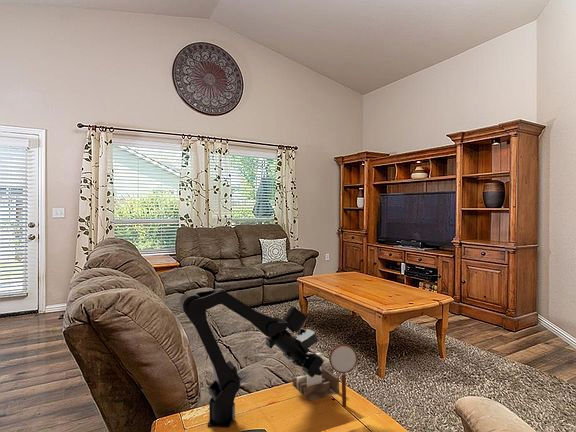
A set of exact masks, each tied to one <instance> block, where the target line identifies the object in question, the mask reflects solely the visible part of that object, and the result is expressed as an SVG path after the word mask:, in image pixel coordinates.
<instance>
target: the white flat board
mask: <svg viewBox="0 0 576 432" xmlns="http://www.w3.org/2000/svg"><path fill="white" fill-rule="evenodd" d="M315 354H317V355H318V356H320V357H321V358H322V353H321V352H316V353H315ZM306 358H307V357H306ZM320 370H321V367H320ZM306 375H307V387H309V386H313V385H316V384H320V383H322V374H321V375H320V376H319V375H314V377H311V376H309V375H308V374H307V373H306Z"/></svg>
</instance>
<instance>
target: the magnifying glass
mask: <svg viewBox="0 0 576 432" xmlns="http://www.w3.org/2000/svg"><path fill="white" fill-rule="evenodd" d="M357 362H358V354H357V352H356V350H355V349H354V348H353V347H352V346H350V344H345V343H342V344H338V345H336V346H335V347H333V348H332V350H331V351H330V354H329V364H330V367H332V369H333V370H334V371H335V372H337V373H340V374H341V394H342V395H341V398H342V399H341V403H342V404H341V405H342V407H343V408H346V407H347V384H346V383H347V380H346V376H347V375H346V374H347V373H350V372H351V371H353V370H354V368H355V367H356V365H357Z"/></svg>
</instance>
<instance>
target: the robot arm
mask: <svg viewBox="0 0 576 432" xmlns="http://www.w3.org/2000/svg"><path fill="white" fill-rule="evenodd" d="M178 304H179V307H180V309H181V310H182V311H183V313H184V315H185V316H186V317H187V319H189V321H190V323H192V325H193V327H194V329H195V331H196V333H197V336H198V337H199V340H200V342H201V344H202V346H203V348H204V351H205V352H206V355H207V356H208V359H209V361H210V364H211V366H212V370H213V371H212V372H213V377H214V380H213V382H212V383H211V384H210V385H209V387H208V388H207V390H208V393H209V395H210V396H211V397H210V399H209V401H208V407H209V420H208V422H207V426H208V427H221V428H223V427H225V428H228V427H230V426H231V424H232V422H233V421H234V419H235V417H236V404H235V403H236V402H235V399H236V395H237V394H238V392H239V390H240V387H241V381H240V380H242V378H241V376H240V375H239V374H238V370H237V367H236V366H235V364H234V363H233V362H232V361H231V360H228V361H226V359H225V357H224V355H223V353H222V350H221V348H220V346H219V344H218V342H217V339H216V338H215V335H214V333H213V331H212V329H211V327H210V324H209V323H208V317H207V310H210V309H212V308H214V307H217V306H219V305H222V306H224V307H226V308H227V309H229V310H230V311H231V312H234V313H235V314H237V315H238V316H241V317H242V319H243V318H244V319H245V320H247V321H248V322H249V323H250V324H251V325H252V326H253V327H254V328H256V330H257V331H258V332H260V333H262V335H264V336H266V338H265V346H266V347H268V348H269V349H272V348H273V347H274V346H276V347H277V348H278V349H279V350H280V351H281V352H282V355H283V357H285V358H286V359H287V360H288V361H290V360H291V362H292V364H294V365H295V366H298V367H301V368H302V371H303V372H304V373H305V374H306V375H307V374H308V375H309V376H311V377H314V375H319V376H320V375H321V374H322V372H321V370H320V367H321V366H322V365H323V363H324V361H325V360H324V359H323V358H322V356H321V357H320V356H318V355H317V354H316V353H315V352H313V353H309V352H310V347H312V346H313V345H315V344H317V343H318V342H319V339H318V336H317V334H316V333H315V331H314V330H312V329H310V328H309V329H308V328H307V329H304V328H302V327H303V326H304V325H305V324H306V322H307V321H308V319H309V318H308V316H307V315H306V314H305V313H304V312H302V311H300V310H299V309H298V308H297V307H295V306H293V305H291V306H290V307H289V309H288V311H287V312H286V314H285V315H284V316H283V317H282V318H281V317H278V316H275V317H273V316H271V315H269V314H267V313H264V312H261V311H259V310H255V309H254V308H252V307H250V305H249V306H248V305H247V304H245V302H243V301H241V300H239V299H238V298H236V297H235V296H233V295H231V294H230V293H229V292H228V291H226V290H225V289H223V288H220V287H219V288H216V289H211V290H205V291H204V290H203V291H199V292H192V291H188V292H185V293H183V294H182V295H181V297H180V298H179V303H178ZM291 333H292V334H294V333H295V334H297V337H295V336H293V335H292V334H291ZM308 353H309V354H308ZM306 357H307V358H306Z"/></svg>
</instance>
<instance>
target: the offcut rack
mask: <svg viewBox="0 0 576 432" xmlns="http://www.w3.org/2000/svg"><path fill="white" fill-rule="evenodd" d="M321 372H322V383H320V384H316V385H313V386H309V387H307V374H304V375H299V376H295V377H292V378H291V379H292V384H291V386H293V387H294V388H295V389H296V390H297V391H298V392H299V393H300V394H302V395H303V396H304V397H305V399H307V400H308V401H309V402H313V401H316V400H319V399H323V398H327V397H331V396H334V395H338V394H340V377H339V376H337V375H336V374H334V372H332V371H330V370H328V369H327V368H326V367H324V366H322V365H321Z"/></svg>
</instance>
